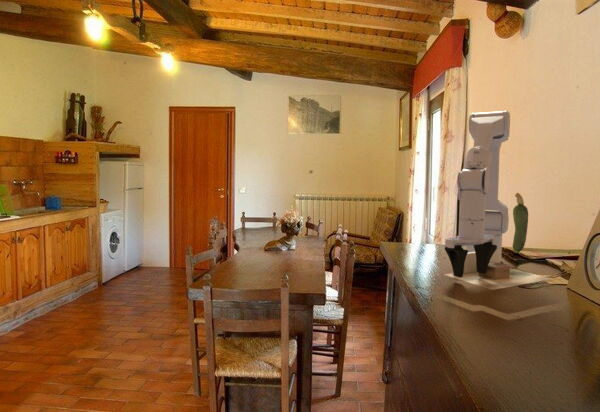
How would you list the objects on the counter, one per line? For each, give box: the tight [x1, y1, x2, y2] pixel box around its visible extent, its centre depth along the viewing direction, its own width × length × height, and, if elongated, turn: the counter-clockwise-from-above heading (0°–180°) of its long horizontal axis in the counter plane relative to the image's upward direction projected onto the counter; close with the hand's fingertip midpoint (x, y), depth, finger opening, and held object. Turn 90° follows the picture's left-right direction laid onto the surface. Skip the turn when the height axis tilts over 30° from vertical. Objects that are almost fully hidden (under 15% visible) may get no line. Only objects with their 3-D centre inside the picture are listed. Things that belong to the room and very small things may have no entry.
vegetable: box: [512, 192, 529, 254], centre depth 136 cm, size 4×4×20 cm
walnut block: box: [479, 262, 511, 280], centre depth 105 cm, size 5×5×3 cm
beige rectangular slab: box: [452, 249, 502, 274], centre depth 111 cm, size 1×16×5 cm, turn 115°
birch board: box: [443, 267, 553, 291], centre depth 105 cm, size 15×21×1 cm
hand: (469, 274), depth 102 cm, fingers open, 7 cm apart
